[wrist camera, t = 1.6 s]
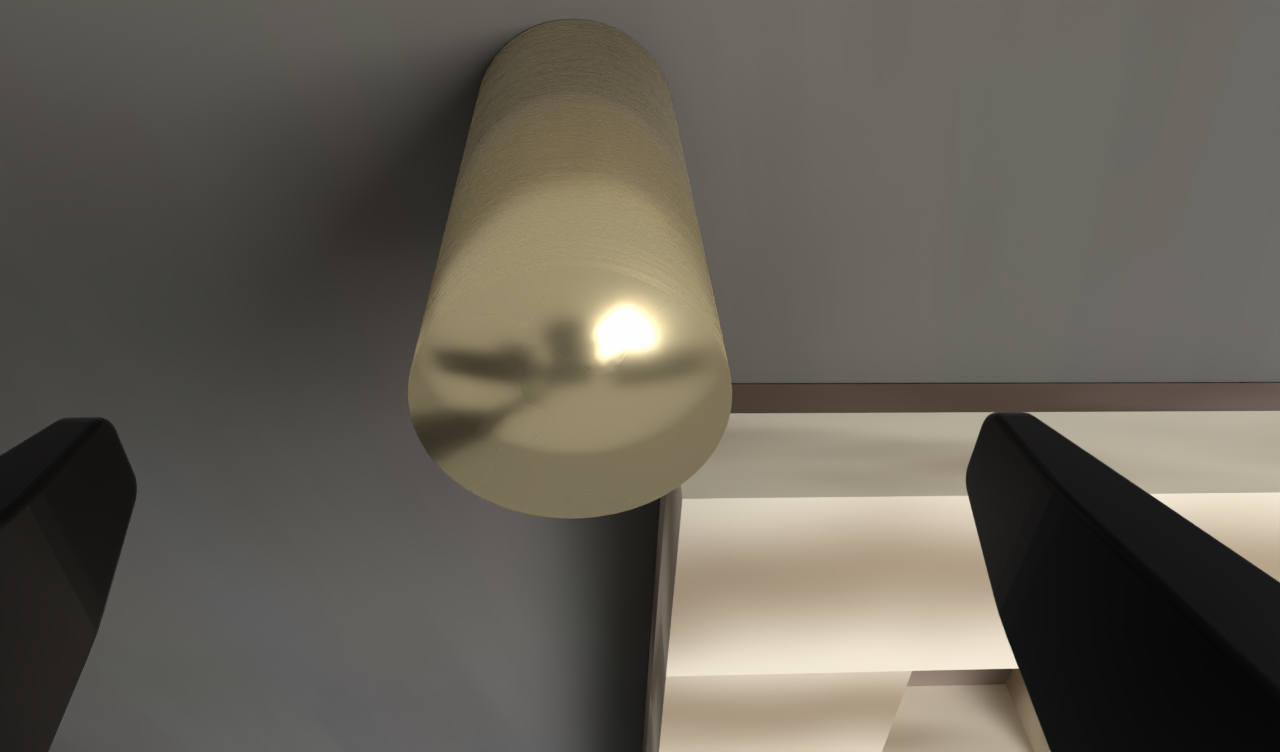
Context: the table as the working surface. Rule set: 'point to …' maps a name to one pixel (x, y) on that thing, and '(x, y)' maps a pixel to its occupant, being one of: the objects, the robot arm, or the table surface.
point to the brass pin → (571, 289)
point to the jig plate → (901, 556)
